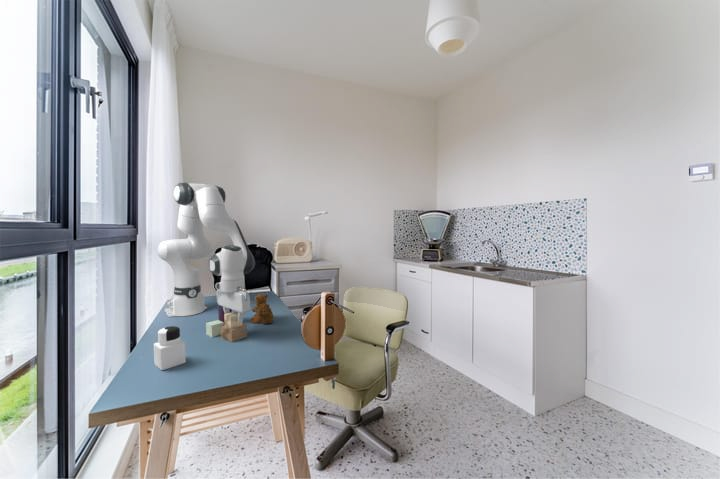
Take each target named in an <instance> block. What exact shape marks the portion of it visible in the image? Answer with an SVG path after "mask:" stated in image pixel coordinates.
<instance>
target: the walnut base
mask: <svg viewBox="0 0 720 479" xmlns="http://www.w3.org/2000/svg"><path fill="white" fill-rule="evenodd" d="M242 324H243V323H242ZM244 338H248V325H247V324H245V323H244V324H243V326H239V327H236V328H232V329H230V328H227V327H225V326H223V327H221V335H220V339H221V340H223V341H224V340H225V341H227V342H230V343H234V342H236V341H237V342H238V340H242V339H244Z"/></svg>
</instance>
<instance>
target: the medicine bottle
mask: <svg viewBox="0 0 720 479" xmlns="http://www.w3.org/2000/svg"><path fill="white" fill-rule="evenodd" d="M180 331H181V329H180V327H178V326H173V325H172V326H171V325H170V326H166V327H163V328H161V329H159V330H158V332H157V342H154V343H153V361H154V362H153V364H154V365H155V366H156V367H157V368H158V369H159V370H160V371H164V370H168V369H171V368H174V367H177V366H179V365H183V364H185V363H186V358H187V357H186V342H185V341H184V340H182V339H181V332H180Z"/></svg>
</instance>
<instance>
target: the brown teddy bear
mask: <svg viewBox="0 0 720 479" xmlns="http://www.w3.org/2000/svg"><path fill="white" fill-rule="evenodd" d="M268 297H269V294H268V293H266V294H265V293H259V294H257V295H256V296H255V297H254V298H253V300H251V303H253V304H254V302H255V305H256V306H253V307H251V311H252V312H253V313H255V314H254V315H253V316H252V318H249V322H251V323H253V324H264V325H267V324H272V323H273V322H274V314H273V311H272V307H270V304H269V303H267V298H268Z"/></svg>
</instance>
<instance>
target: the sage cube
mask: <svg viewBox="0 0 720 479" xmlns="http://www.w3.org/2000/svg"><path fill="white" fill-rule="evenodd" d="M223 326H224V322H221V321H219V319H217V320H213V321H209V322H205V331H206V333H205V335H206V336H209V337H210V338H214V337H218V336H221V327H223Z"/></svg>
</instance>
